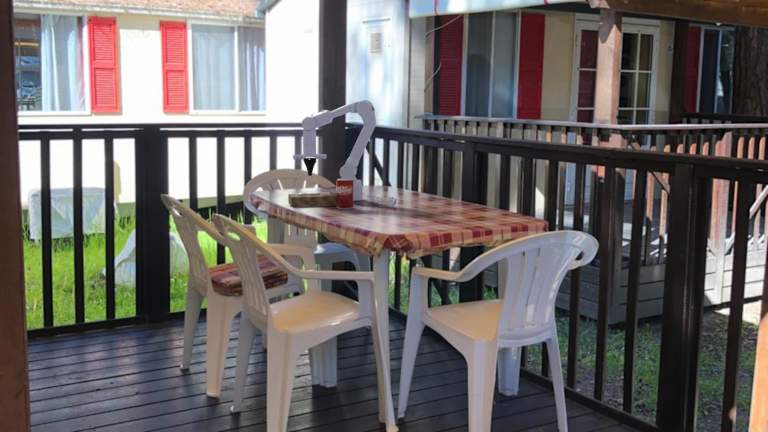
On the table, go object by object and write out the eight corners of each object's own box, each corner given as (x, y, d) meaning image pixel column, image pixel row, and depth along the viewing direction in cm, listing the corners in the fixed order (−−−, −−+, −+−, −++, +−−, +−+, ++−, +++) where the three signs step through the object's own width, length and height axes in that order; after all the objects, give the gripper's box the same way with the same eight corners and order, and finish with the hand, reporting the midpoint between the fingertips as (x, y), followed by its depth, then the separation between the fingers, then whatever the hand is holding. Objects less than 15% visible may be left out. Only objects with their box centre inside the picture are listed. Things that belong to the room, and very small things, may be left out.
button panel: (334, 202, 356) (334, 192, 356) (339, 205, 347) (339, 195, 346) (288, 203, 352) (288, 194, 351) (291, 206, 342) (291, 197, 341)
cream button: (329, 200, 353) (329, 191, 352) (331, 202, 348) (331, 193, 348) (319, 200, 352) (319, 192, 351) (320, 202, 347) (320, 193, 347)
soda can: (351, 209, 335) (351, 180, 333) (334, 209, 336) (334, 180, 334) (355, 207, 342) (355, 178, 340) (338, 206, 343) (338, 177, 341)
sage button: (306, 201, 350) (306, 192, 350) (307, 202, 346) (307, 193, 346) (295, 201, 349) (295, 192, 349) (297, 203, 345) (297, 194, 345)
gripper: (324, 143, 366) (324, 174, 369) (291, 144, 363) (292, 174, 365) (327, 144, 360) (327, 175, 362) (293, 145, 356) (294, 176, 358)
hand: (309, 175), depth 363 cm, fingers closed
